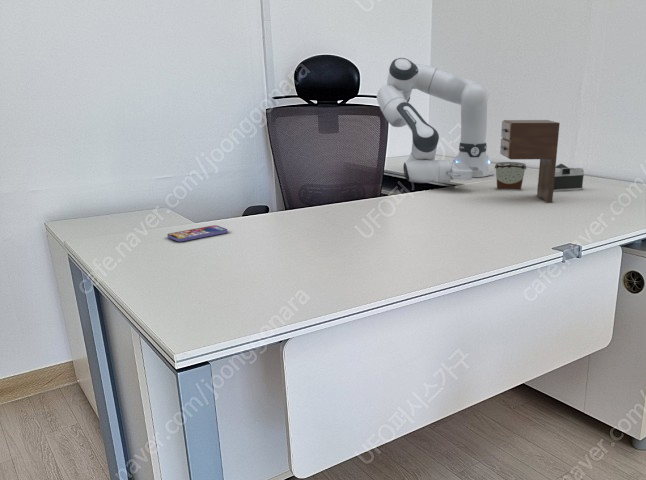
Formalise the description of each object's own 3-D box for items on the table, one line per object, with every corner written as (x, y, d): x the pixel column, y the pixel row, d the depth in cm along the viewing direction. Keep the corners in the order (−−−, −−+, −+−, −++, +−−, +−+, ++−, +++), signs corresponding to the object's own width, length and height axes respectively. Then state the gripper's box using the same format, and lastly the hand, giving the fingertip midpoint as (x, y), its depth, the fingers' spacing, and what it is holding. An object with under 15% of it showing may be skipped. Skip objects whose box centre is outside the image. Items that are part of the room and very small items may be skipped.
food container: (523, 187, 237) (525, 161, 234) (524, 190, 232) (526, 164, 228) (492, 186, 238) (493, 161, 235) (493, 189, 233) (494, 163, 229)
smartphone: (229, 232, 167) (179, 242, 157) (215, 227, 172) (166, 237, 162) (229, 229, 167) (178, 239, 156) (215, 224, 171) (165, 233, 161)
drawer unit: (495, 195, 221) (499, 120, 211) (541, 195, 221) (547, 120, 212) (503, 203, 207) (508, 122, 198) (552, 202, 208) (559, 122, 199)
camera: (573, 186, 240) (575, 160, 237) (585, 189, 233) (588, 163, 229) (538, 188, 236) (540, 162, 232) (550, 191, 228) (552, 165, 225)
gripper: (448, 167, 221) (485, 166, 221) (442, 159, 240) (476, 159, 240) (448, 184, 223) (484, 183, 223) (442, 175, 242) (475, 175, 243)
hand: (480, 171), depth 232 cm, fingers open, 8 cm apart
